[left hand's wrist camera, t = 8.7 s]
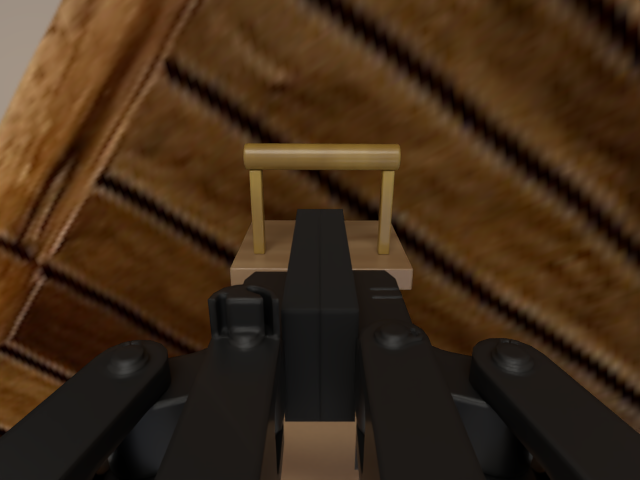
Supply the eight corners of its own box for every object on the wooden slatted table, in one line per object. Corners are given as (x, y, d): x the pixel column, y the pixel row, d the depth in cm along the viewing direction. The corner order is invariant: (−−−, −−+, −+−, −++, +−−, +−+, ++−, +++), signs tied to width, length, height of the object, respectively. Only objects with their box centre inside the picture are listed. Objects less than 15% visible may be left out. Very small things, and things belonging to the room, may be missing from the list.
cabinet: (252, 321, 33) (225, 417, 24) (389, 321, 33) (415, 417, 24) (262, 498, 39) (245, 626, 30) (376, 499, 39) (393, 627, 30)
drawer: (247, 129, 27) (220, 150, 19) (396, 130, 27) (424, 151, 19) (263, 423, 35) (248, 514, 28) (376, 423, 35) (391, 514, 28)
